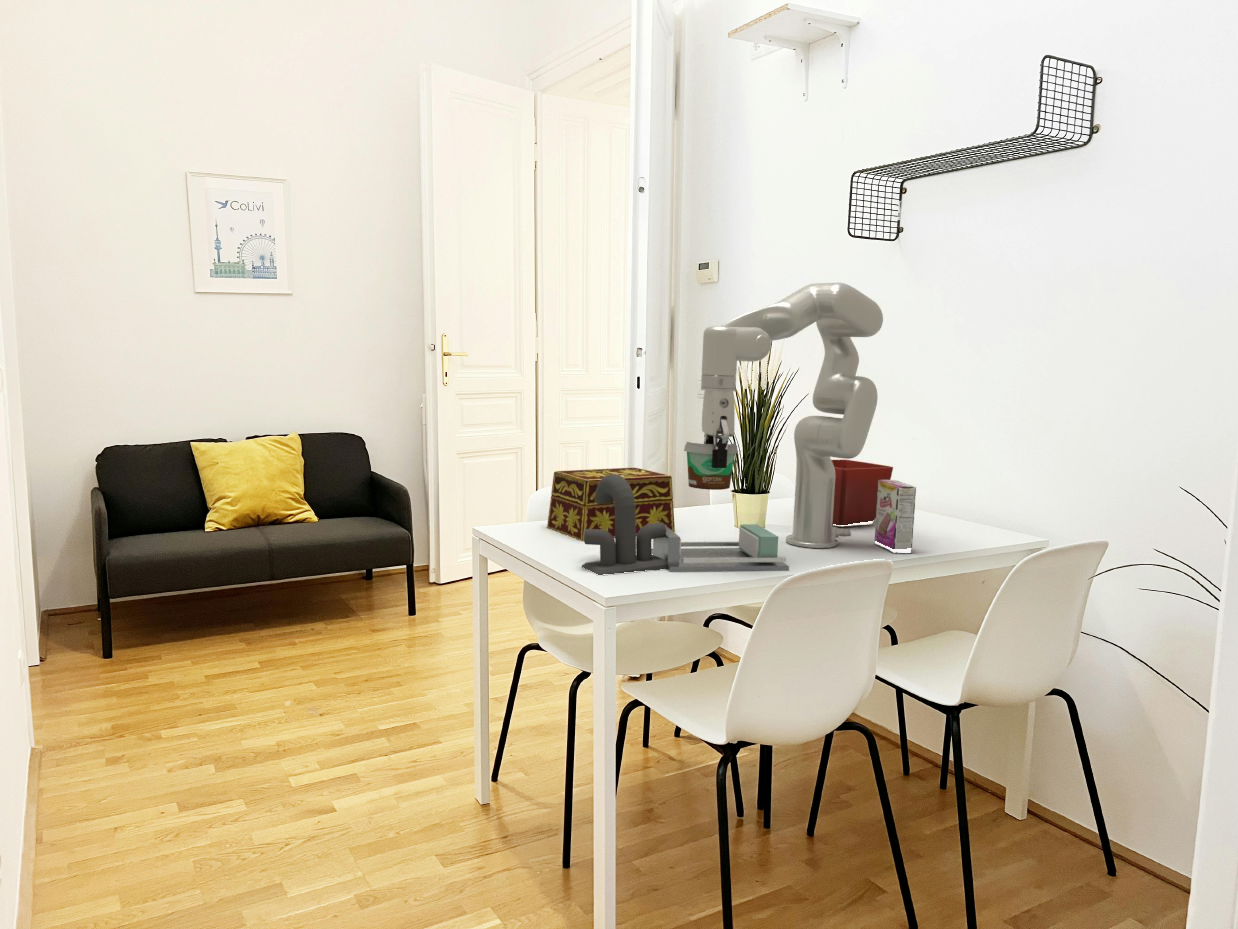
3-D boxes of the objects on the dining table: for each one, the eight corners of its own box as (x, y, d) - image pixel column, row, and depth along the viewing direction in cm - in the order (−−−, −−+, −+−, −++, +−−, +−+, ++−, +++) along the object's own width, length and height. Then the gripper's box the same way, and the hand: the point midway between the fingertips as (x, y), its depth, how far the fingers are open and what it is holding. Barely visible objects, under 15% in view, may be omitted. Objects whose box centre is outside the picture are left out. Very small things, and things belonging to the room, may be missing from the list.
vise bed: (760, 552, 216) (762, 522, 215) (788, 570, 199) (790, 538, 198) (650, 553, 211) (651, 523, 210) (669, 571, 194) (671, 539, 193)
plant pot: (841, 515, 271) (844, 458, 269) (890, 526, 255) (895, 466, 253) (792, 519, 262) (795, 460, 259) (840, 531, 245) (844, 469, 243)
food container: (691, 490, 198) (693, 444, 197) (682, 486, 204) (684, 441, 203) (744, 490, 202) (747, 444, 200) (734, 485, 207) (736, 441, 206)
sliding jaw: (755, 548, 214) (756, 524, 213) (776, 562, 200) (778, 536, 200) (737, 548, 213) (738, 524, 212) (757, 562, 199) (758, 536, 199)
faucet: (636, 553, 211) (635, 466, 208) (672, 568, 197) (672, 476, 194) (564, 563, 202) (562, 473, 199) (597, 580, 188) (595, 484, 185)
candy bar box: (872, 544, 230) (877, 479, 228) (891, 544, 231) (895, 479, 229) (893, 554, 219) (897, 486, 217) (912, 554, 220) (917, 486, 218)
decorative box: (635, 520, 252) (637, 466, 250) (675, 533, 236) (677, 475, 234) (546, 528, 237) (547, 470, 235) (582, 542, 222) (584, 480, 220)
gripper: (747, 386, 192) (743, 471, 195) (723, 382, 209) (719, 461, 211) (713, 385, 191) (709, 471, 193) (691, 381, 208) (687, 460, 210)
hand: (714, 465), depth 202 cm, fingers closed on food container, 6 cm apart
